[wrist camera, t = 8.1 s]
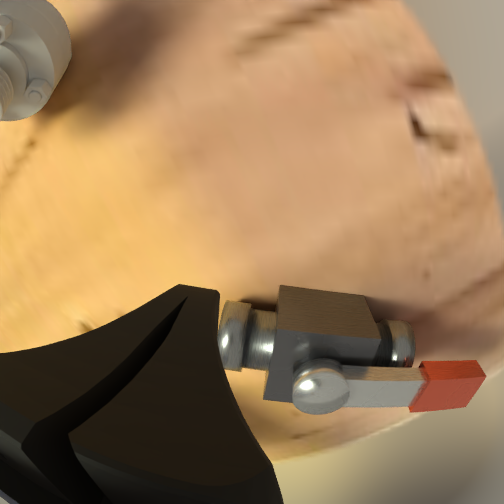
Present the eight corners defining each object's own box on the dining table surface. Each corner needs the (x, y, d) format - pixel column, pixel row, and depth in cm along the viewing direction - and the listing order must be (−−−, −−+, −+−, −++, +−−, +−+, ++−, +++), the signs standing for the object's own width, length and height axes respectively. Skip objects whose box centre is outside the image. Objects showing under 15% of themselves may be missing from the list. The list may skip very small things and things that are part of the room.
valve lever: (288, 389, 17) (287, 412, 16) (298, 352, 16) (299, 375, 14) (456, 391, 17) (465, 408, 15) (476, 358, 15) (487, 376, 14)
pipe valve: (378, 361, 22) (392, 406, 18) (225, 345, 23) (213, 391, 18) (404, 300, 20) (428, 341, 15) (231, 278, 21) (216, 319, 16)
